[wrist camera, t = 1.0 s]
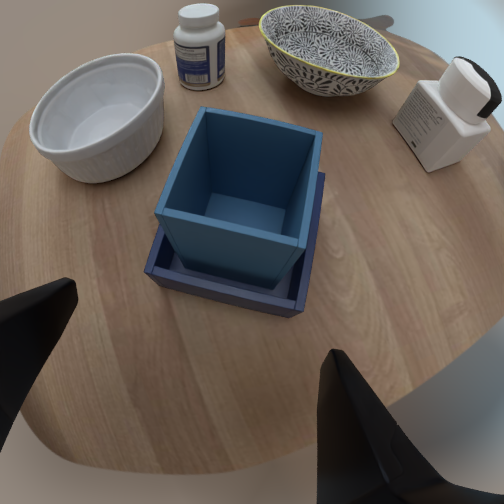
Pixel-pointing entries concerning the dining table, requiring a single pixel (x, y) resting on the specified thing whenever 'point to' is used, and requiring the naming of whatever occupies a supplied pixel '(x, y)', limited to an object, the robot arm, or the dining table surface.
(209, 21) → the pill bottle
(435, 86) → the container
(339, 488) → the robot arm
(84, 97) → the ramekin
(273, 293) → the navy bin
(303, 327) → the dining table surface
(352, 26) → the bowl
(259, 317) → the dining table surface
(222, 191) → the blue bin
